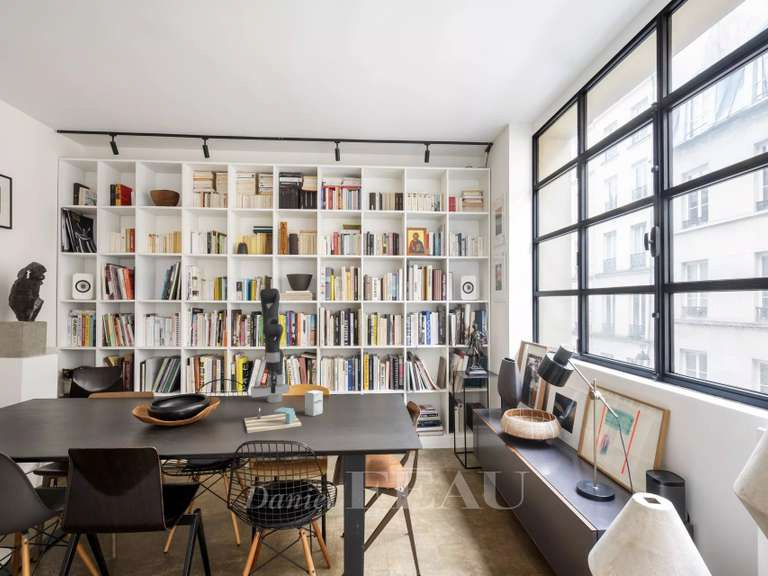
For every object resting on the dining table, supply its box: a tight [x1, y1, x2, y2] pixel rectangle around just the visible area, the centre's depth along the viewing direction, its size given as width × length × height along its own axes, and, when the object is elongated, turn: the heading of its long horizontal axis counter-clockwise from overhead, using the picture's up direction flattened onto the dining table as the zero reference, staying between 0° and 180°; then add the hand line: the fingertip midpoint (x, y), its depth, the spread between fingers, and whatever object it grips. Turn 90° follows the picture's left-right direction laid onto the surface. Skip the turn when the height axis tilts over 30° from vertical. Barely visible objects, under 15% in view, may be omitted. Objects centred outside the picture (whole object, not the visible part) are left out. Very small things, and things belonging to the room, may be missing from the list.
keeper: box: [273, 406, 296, 424], centre depth 197 cm, size 9×7×7 cm
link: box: [250, 383, 290, 398], centre depth 205 cm, size 19×8×4 cm, turn 114°
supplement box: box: [304, 389, 324, 417], centre depth 216 cm, size 7×7×13 cm
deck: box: [243, 413, 302, 434], centre depth 199 cm, size 22×26×1 cm
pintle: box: [256, 406, 262, 419], centre depth 202 cm, size 2×2×8 cm
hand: (272, 392), depth 206 cm, fingers closed on link, 4 cm apart
